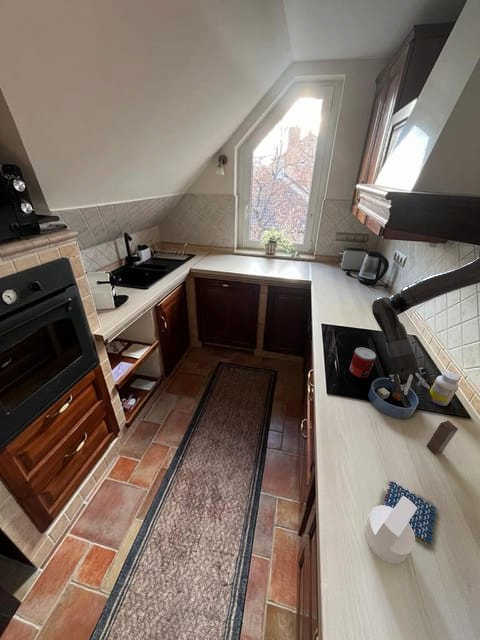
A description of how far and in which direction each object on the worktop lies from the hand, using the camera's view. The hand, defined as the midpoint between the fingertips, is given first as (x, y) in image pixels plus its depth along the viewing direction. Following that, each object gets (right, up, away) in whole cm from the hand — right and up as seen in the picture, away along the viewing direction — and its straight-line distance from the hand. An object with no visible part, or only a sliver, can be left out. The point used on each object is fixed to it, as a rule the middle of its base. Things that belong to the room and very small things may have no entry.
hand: (418, 403), depth 81 cm
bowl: (-1, -4, +14) cm, 15 cm away
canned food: (-6, +4, +28) cm, 29 cm away
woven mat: (-15, -22, -17) cm, 31 cm away
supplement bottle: (+18, -4, +16) cm, 24 cm away
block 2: (+3, -3, +16) cm, 16 cm away
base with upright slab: (-24, -24, -22) cm, 40 cm away
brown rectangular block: (+3, -14, -2) cm, 14 cm away
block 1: (-3, -3, +16) cm, 16 cm away
